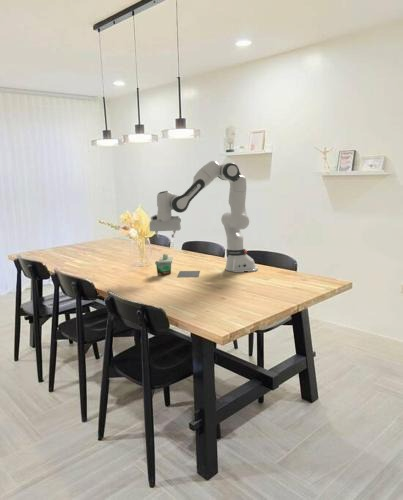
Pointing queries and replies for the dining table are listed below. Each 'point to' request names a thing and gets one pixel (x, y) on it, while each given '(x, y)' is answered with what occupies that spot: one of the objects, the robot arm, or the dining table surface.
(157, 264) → the food container
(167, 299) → the dining table surface
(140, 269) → the dining table surface
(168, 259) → the lid
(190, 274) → the mat
